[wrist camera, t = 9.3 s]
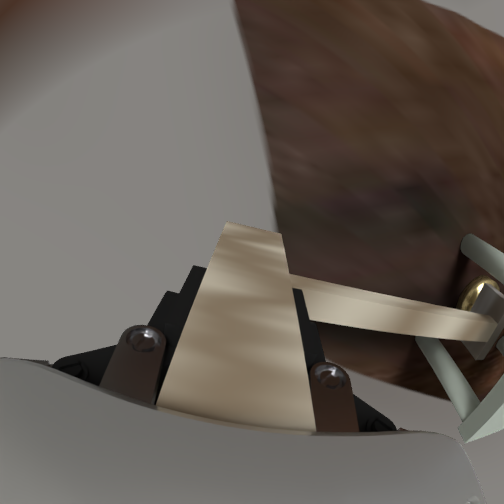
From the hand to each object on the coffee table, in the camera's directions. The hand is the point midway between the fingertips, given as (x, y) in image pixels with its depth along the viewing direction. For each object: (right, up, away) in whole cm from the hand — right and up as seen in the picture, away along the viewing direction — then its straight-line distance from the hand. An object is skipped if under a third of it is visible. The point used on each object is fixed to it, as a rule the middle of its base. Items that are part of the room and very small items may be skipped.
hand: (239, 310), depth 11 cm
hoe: (+9, 0, +5) cm, 10 cm away
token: (+21, -2, +9) cm, 23 cm away
